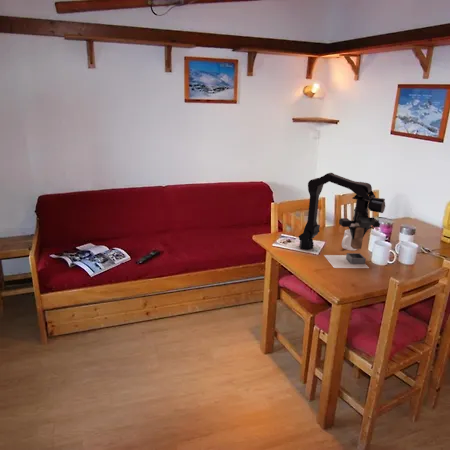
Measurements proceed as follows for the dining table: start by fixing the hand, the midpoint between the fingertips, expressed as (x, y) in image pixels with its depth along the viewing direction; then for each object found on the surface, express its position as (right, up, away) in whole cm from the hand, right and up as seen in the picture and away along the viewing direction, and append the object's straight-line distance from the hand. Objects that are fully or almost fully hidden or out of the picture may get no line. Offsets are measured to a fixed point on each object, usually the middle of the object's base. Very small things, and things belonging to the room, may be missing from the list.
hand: (357, 239), depth 202 cm
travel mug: (+18, +3, +54) cm, 57 cm away
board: (-5, -12, +4) cm, 14 cm away
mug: (+2, -7, +22) cm, 23 cm away
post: (0, -4, +1) cm, 5 cm away
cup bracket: (0, -13, +5) cm, 13 cm away
